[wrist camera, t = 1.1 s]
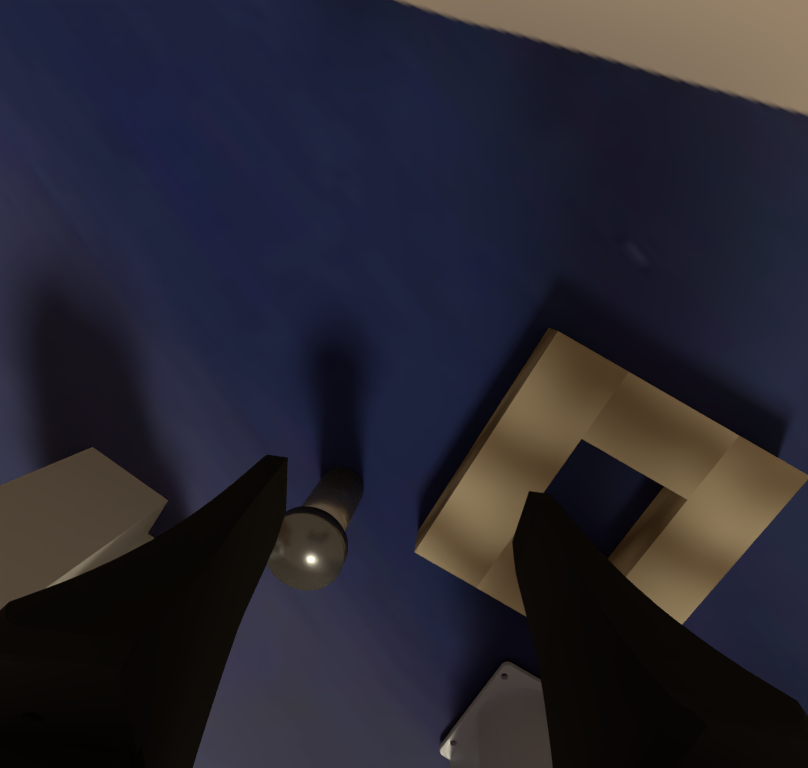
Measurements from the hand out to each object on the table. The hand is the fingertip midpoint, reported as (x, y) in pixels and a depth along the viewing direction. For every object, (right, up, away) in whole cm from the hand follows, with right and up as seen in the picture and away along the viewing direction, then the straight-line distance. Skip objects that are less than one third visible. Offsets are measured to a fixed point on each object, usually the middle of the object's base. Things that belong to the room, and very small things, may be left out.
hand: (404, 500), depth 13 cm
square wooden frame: (+12, -4, +15) cm, 20 cm away
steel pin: (-4, -4, +17) cm, 18 cm away
